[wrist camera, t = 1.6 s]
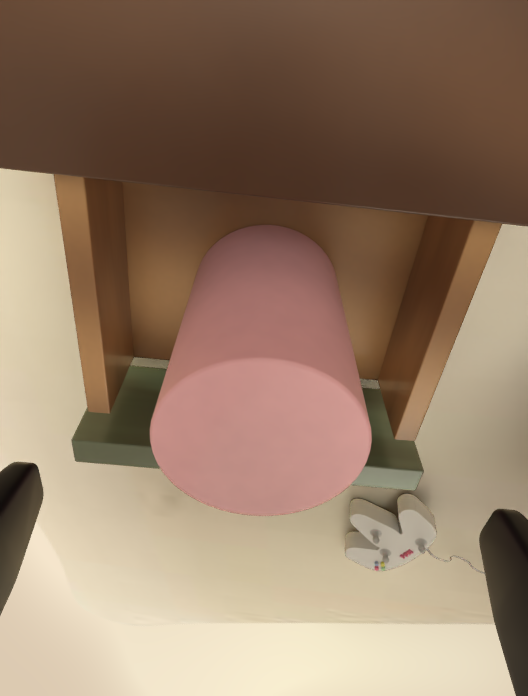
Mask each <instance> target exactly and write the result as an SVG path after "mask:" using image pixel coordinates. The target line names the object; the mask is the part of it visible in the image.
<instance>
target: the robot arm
mask: <svg viewBox="0 0 528 696" xmlns="http://www.w3.org/2000/svg"><path fill="white" fill-rule="evenodd" d="M42 501H43V487H42V482H41V478H40V474H39V469H38V466H37V465H36V464H34V463H26V462H14V463H12V464H10V465H8V466H7V467H6V468H4V469H3V470H2V471H1V472H0V615H1V613H2V610H3V608H4V606H5V604H6V602H7V600H8V597H9V595H10V593H11V591H12V588H13V586H14V584H15V581H16V579H17V576H18V573H19V570H20V567H21V564H22V561H23V558H24V555H25V552H26V549H27V546H28V543H29V540H30V537H31V534H32V531H33V528H34V525H35V522H36V519H37V516H38V513H39V510H40V507H41V504H42ZM479 542H480V549H481V554H482V560H483V565H484V570H485V576H486V581H487V586H488V592H489V597H490V602H491V608H492V612H493V617H494V622H495V625H496V629H497V633H498V636H499V640H500V643H501V646H502V650H503V653H504V657H505V660H506V663H507V667H508V670H509V673H510V677H511V680H512V684H513V687H514V691H515V694H516V696H528V520H527V519H526V518H525V517H524V516H523V515H522V514H521V513H520V512H518V511H515V510H507V509H497V510H495V511H494V512H493V513H492V515H491V517H490V518H489V520H488V521H487V523H486V525H485V526H484V528H483V529H482V531H481V533H480V539H479Z"/></svg>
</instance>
